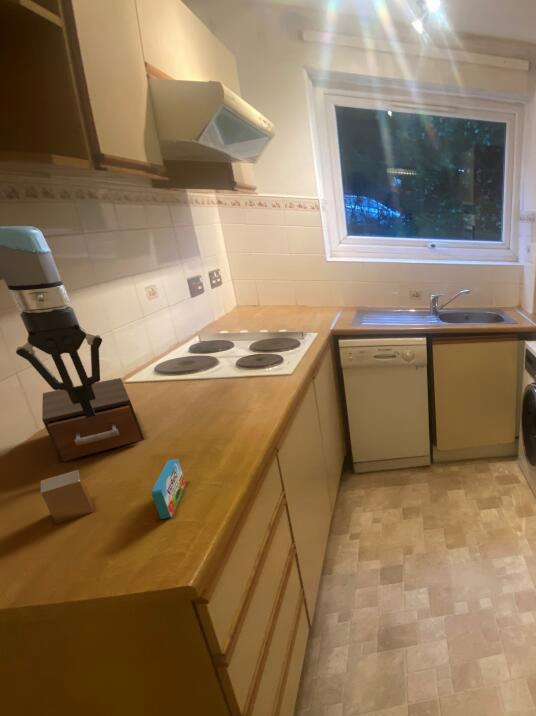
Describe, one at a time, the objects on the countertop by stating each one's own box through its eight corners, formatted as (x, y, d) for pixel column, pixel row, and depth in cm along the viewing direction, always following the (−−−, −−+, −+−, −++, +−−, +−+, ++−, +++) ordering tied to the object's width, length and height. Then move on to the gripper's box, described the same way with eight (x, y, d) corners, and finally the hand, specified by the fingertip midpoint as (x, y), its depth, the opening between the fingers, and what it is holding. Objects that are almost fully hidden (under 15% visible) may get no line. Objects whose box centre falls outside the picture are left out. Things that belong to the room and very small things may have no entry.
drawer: (144, 448, 101) (132, 414, 97) (64, 471, 92) (47, 435, 89) (131, 415, 117) (120, 385, 113) (61, 432, 108) (47, 399, 104)
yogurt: (171, 518, 80) (161, 490, 78) (161, 520, 80) (151, 492, 77) (185, 483, 90) (177, 457, 88) (177, 484, 90) (168, 459, 87)
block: (56, 524, 78) (40, 492, 76) (55, 511, 82) (40, 480, 79) (93, 511, 82) (79, 480, 79) (91, 500, 85) (78, 469, 82)
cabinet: (144, 439, 107) (130, 399, 103) (61, 462, 97) (42, 419, 93) (133, 413, 120) (120, 377, 116) (59, 431, 110) (42, 393, 106)
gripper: (-5, 317, 79) (48, 430, 88) (91, 306, 88) (130, 410, 97) (-2, 310, 84) (48, 418, 93) (88, 301, 93) (126, 400, 102)
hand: (90, 414), depth 95 cm, fingers closed
